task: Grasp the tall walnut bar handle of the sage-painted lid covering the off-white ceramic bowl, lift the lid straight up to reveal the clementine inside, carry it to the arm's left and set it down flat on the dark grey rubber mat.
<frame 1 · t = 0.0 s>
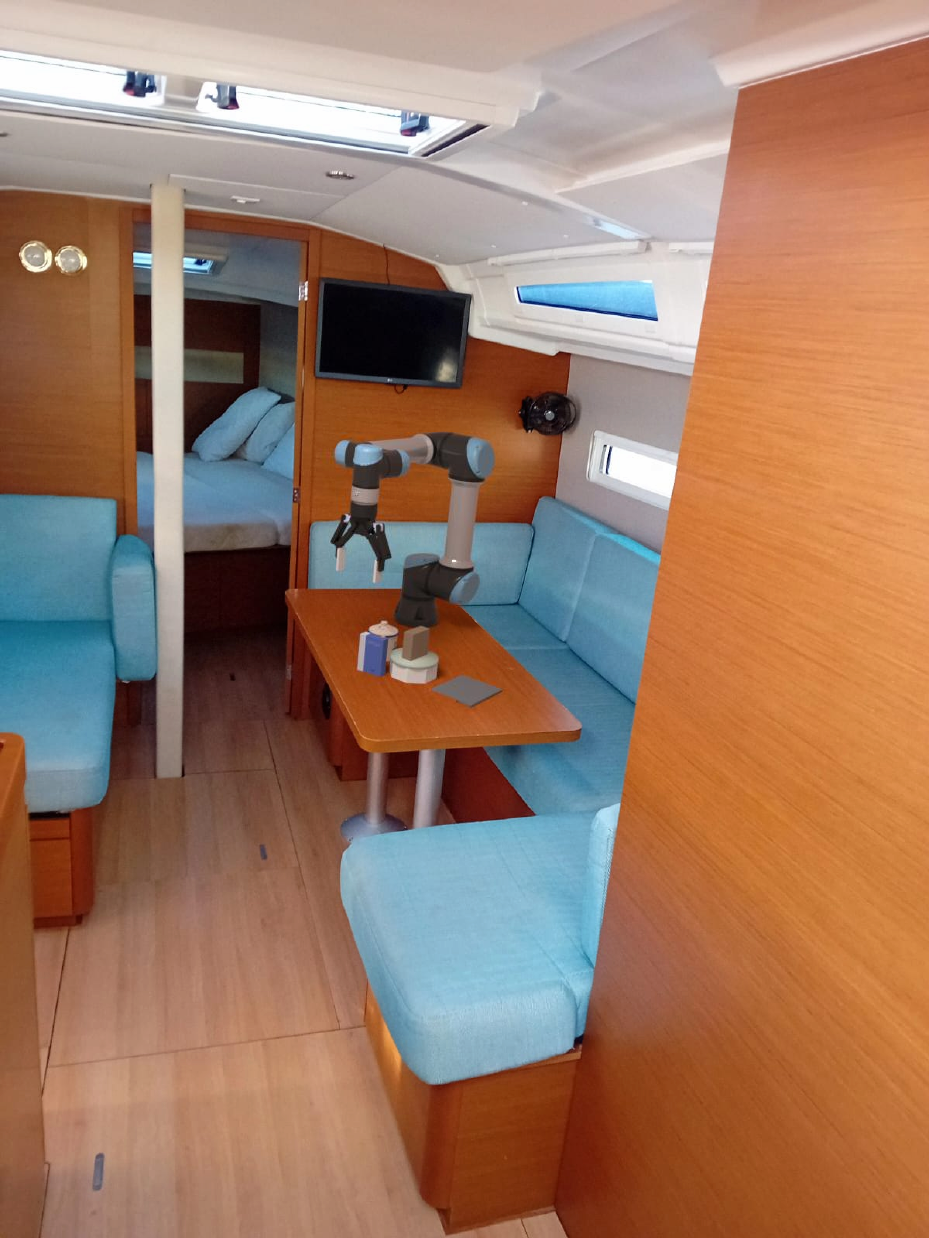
hand: (358, 576, 262), 28 cm above the table, fingers open, 13 cm apart
lid: (414, 660, 269), point 5 cm above the table, touching bowl
bowl: (412, 675, 271), on the table
clementine: (410, 673, 270), point 1 cm above the table, touching bowl
mat: (466, 691, 265), on the table
teacup with lid: (380, 656, 283), on the table
walkman: (370, 674, 269), on the table
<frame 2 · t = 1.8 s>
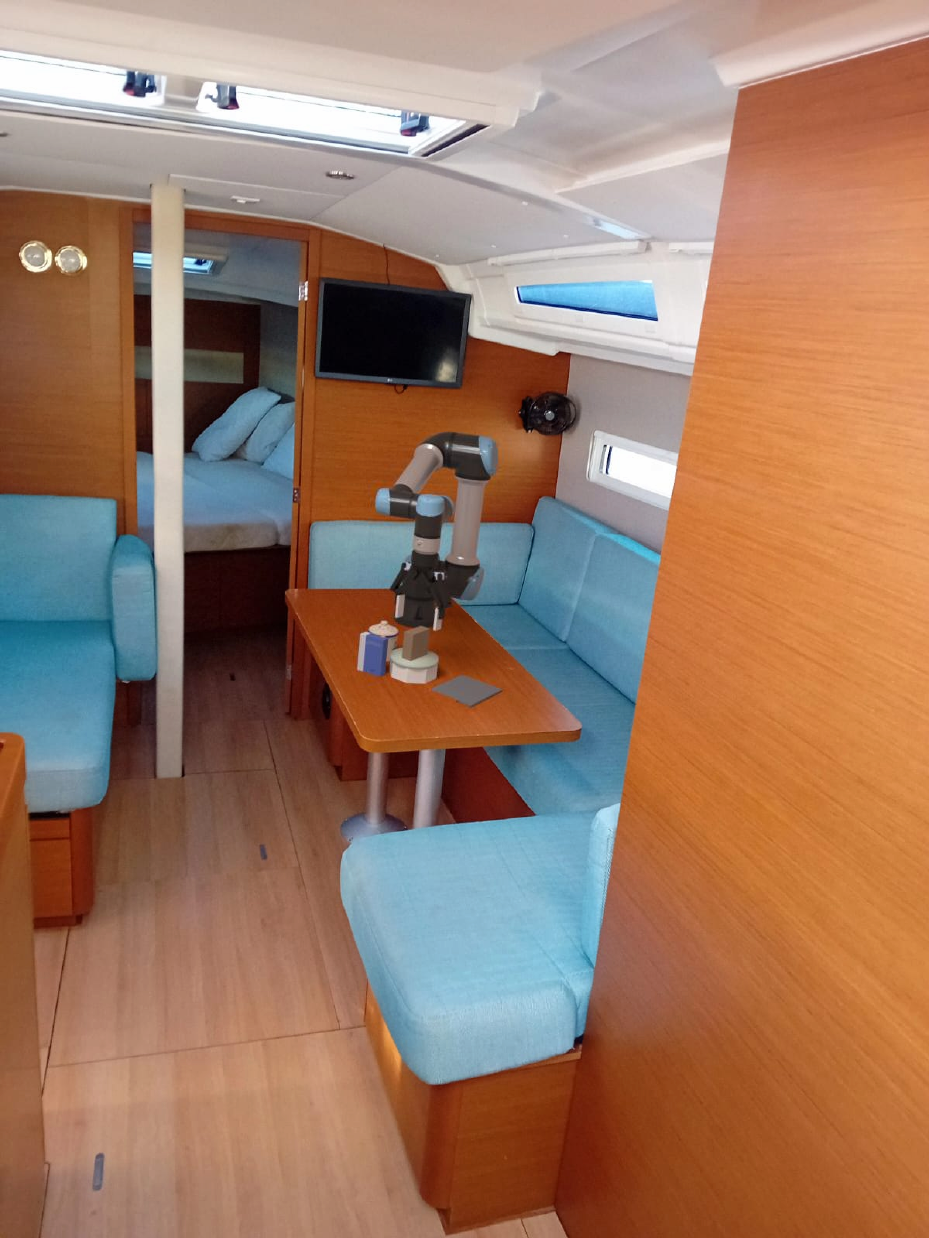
hand: (417, 623, 265), 16 cm above the table, fingers open, 13 cm apart
nothing on the table moved.
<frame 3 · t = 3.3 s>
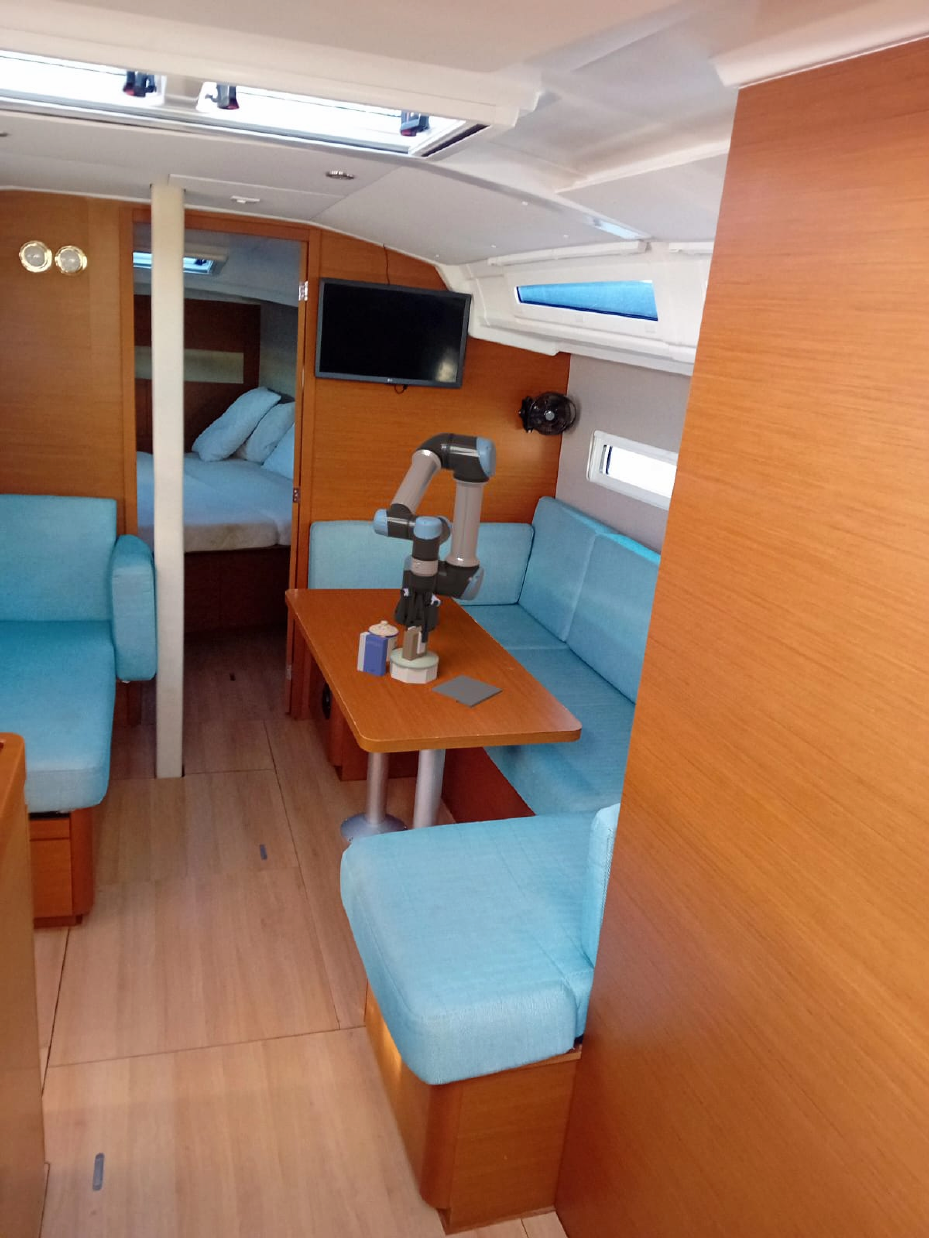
hand: (415, 650, 268), 8 cm above the table, fingers closed on lid, 3 cm apart
lid: (414, 660, 269), point 5 cm above the table, touching bowl, gripper
everything else where it was.
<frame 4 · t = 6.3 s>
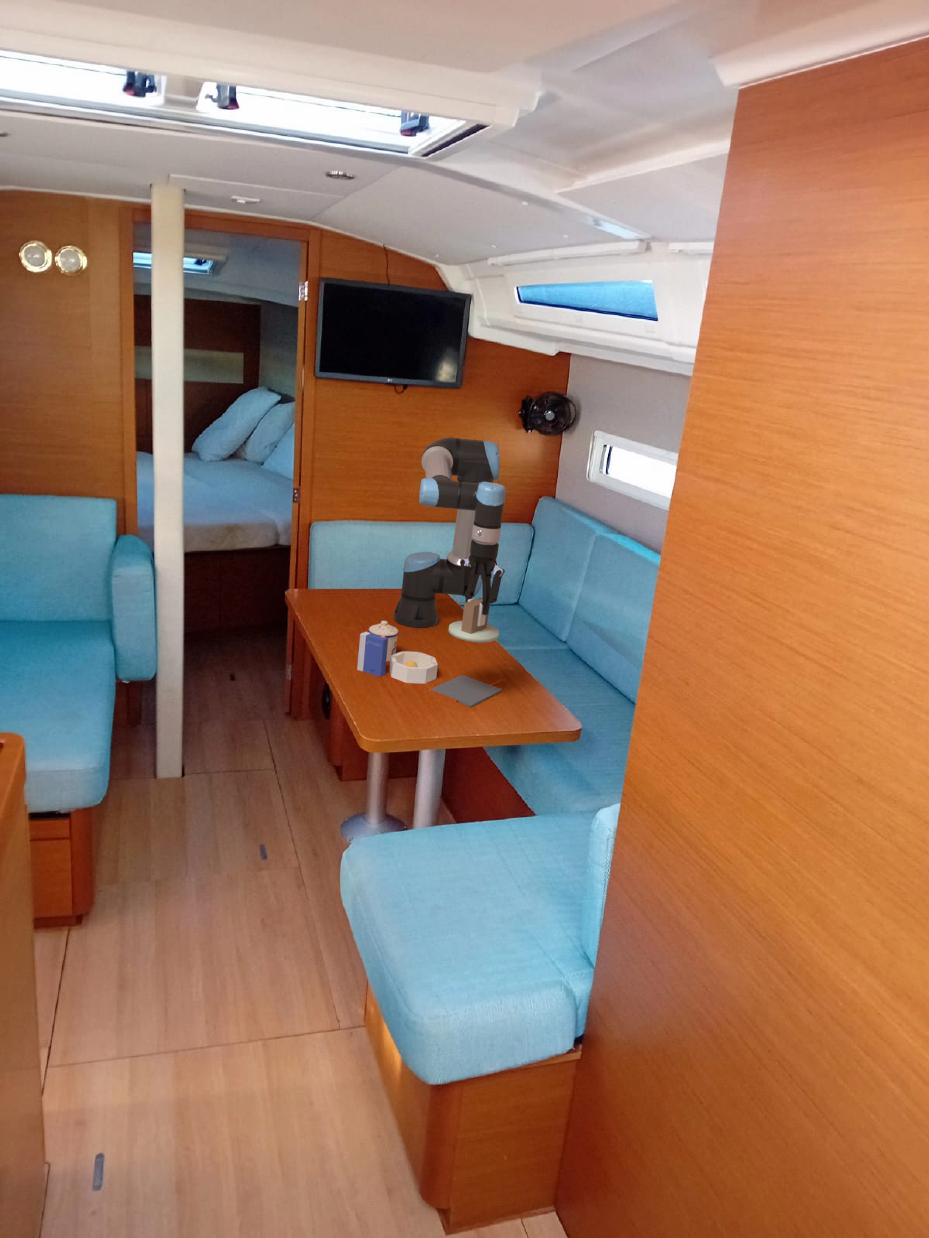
hand: (474, 622, 258), 21 cm above the table, fingers closed on lid, 3 cm apart
lid: (473, 633, 259), point 18 cm above the table, touching gripper
everything else where it was.
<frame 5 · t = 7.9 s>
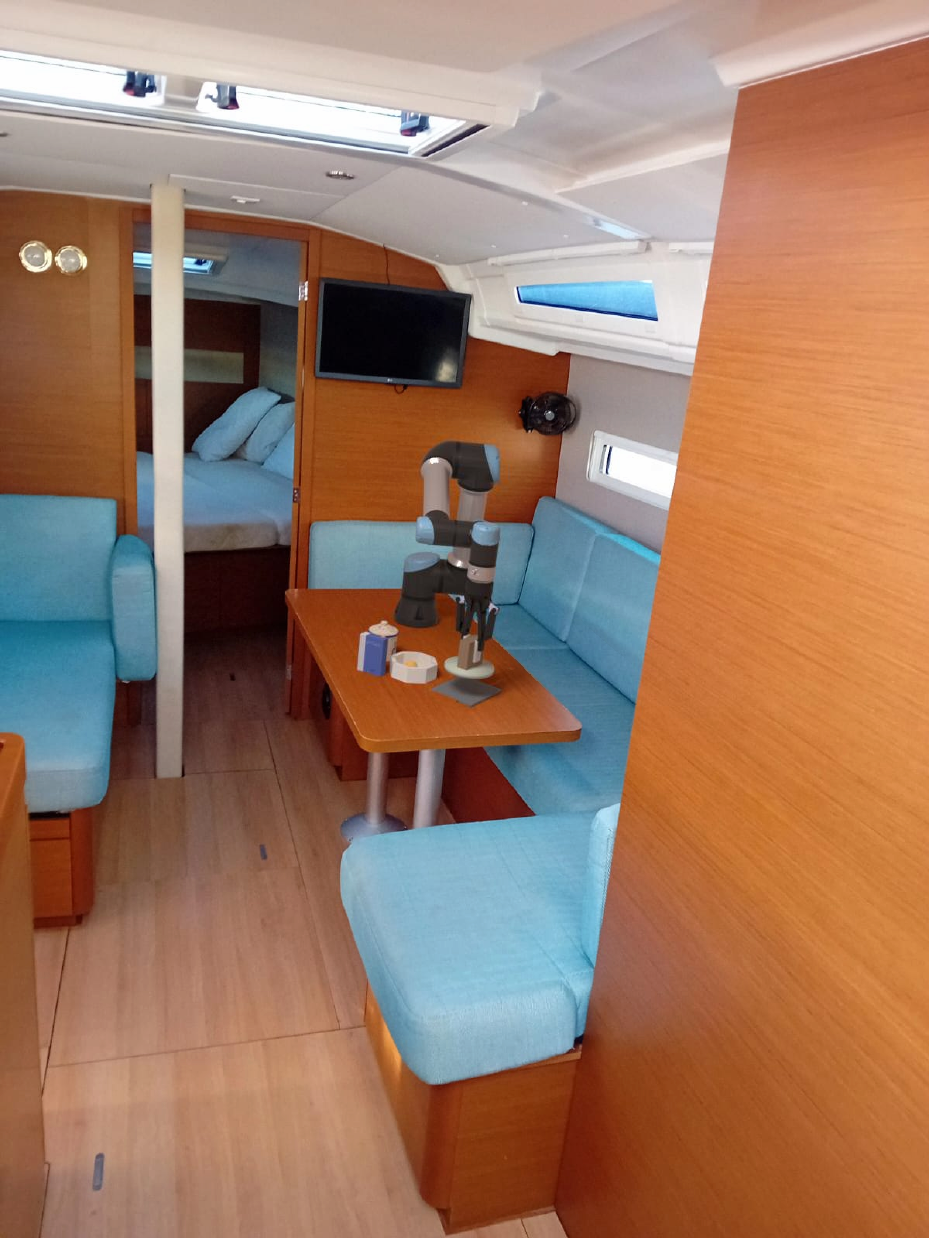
hand: (470, 659, 261), 10 cm above the table, fingers closed on lid, 3 cm apart
lid: (469, 669, 262), point 7 cm above the table, touching gripper
everything else where it was.
when the fingers open (5 cm above the table, at t = 9.2 s): lid drops 1 cm, resting on mat.
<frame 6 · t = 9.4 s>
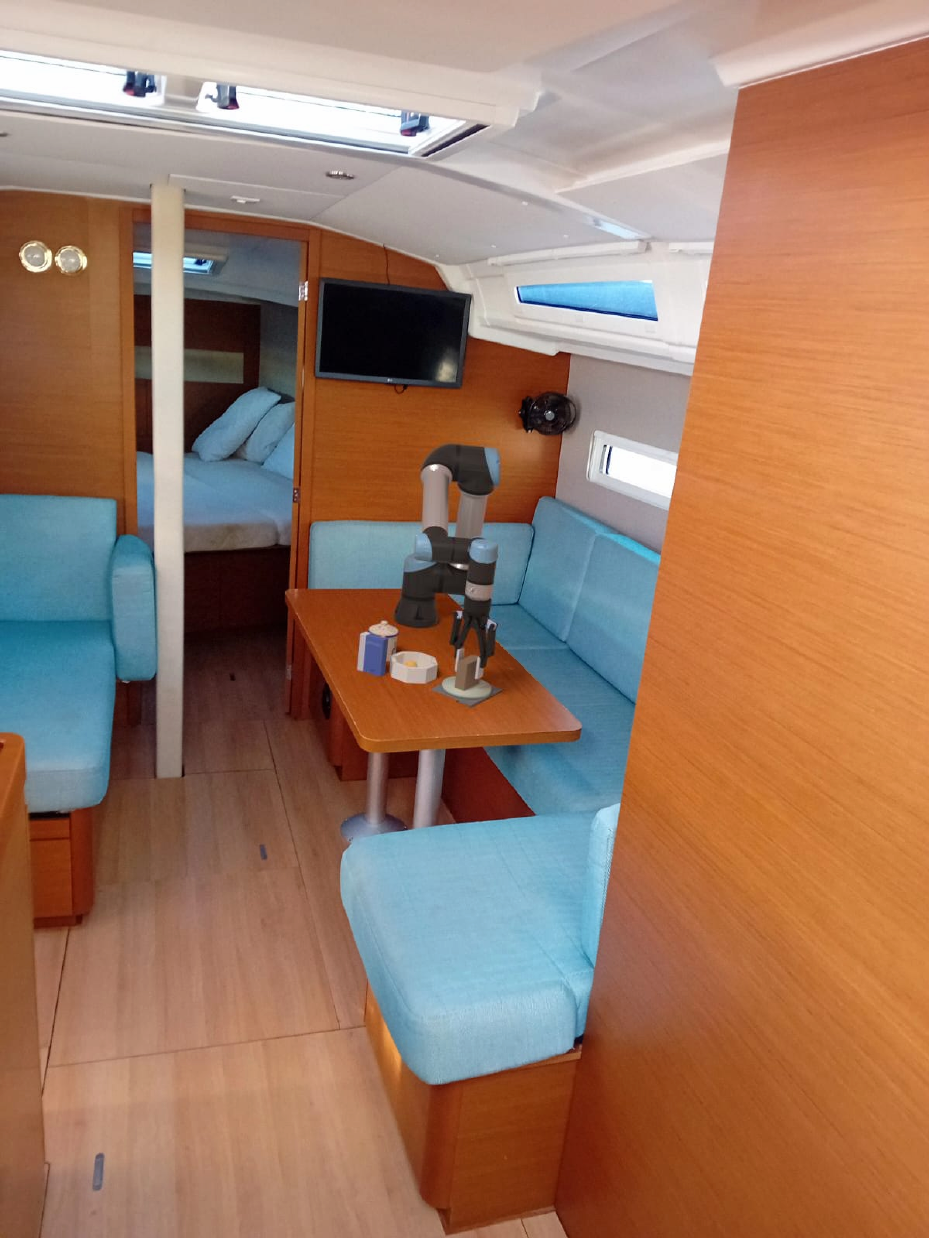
hand: (468, 673, 263), 5 cm above the table, fingers open, 6 cm apart
lid: (466, 689, 264), point 1 cm above the table, touching mat
everything else where it was.
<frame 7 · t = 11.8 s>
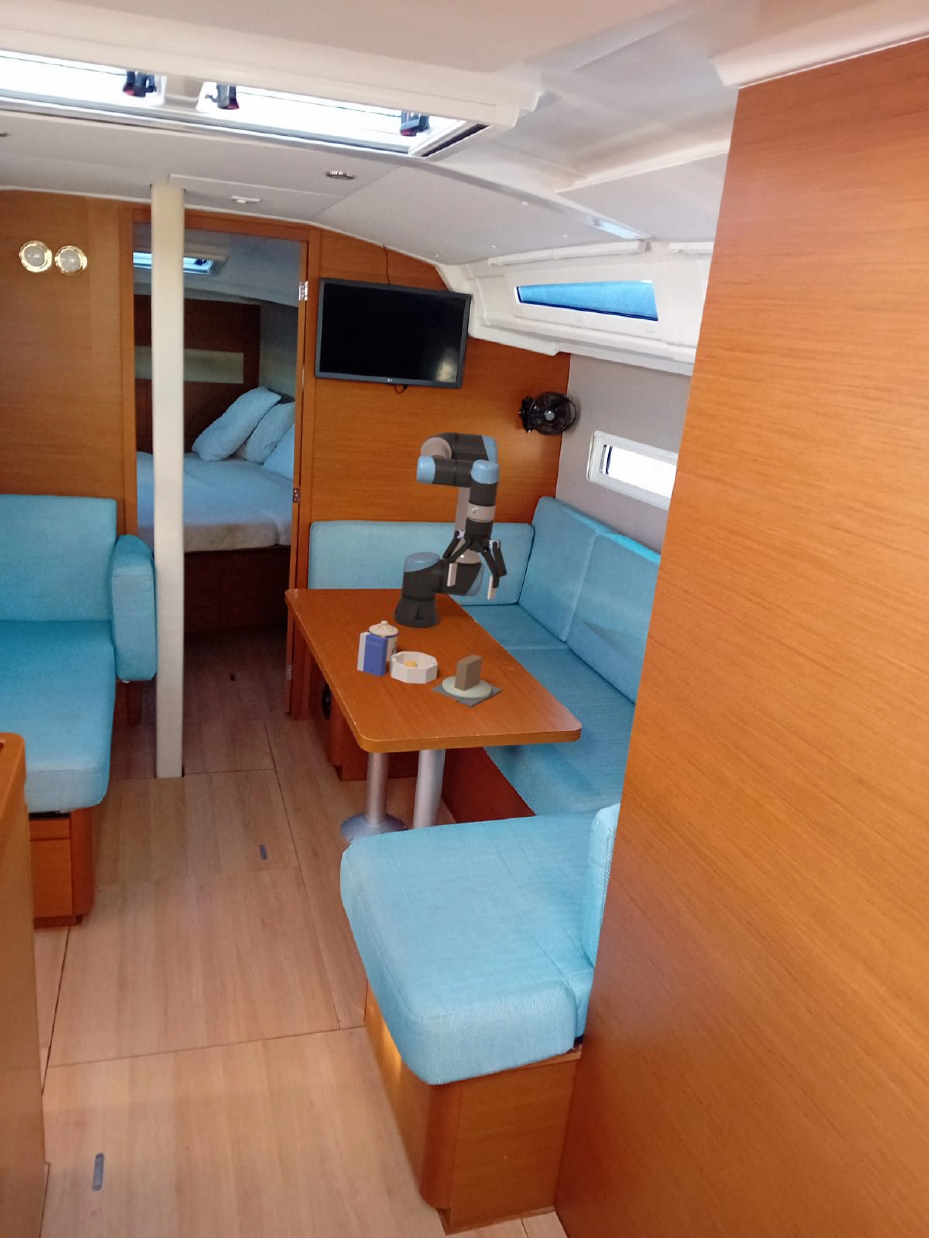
hand: (470, 591, 262), 28 cm above the table, fingers open, 13 cm apart
nothing on the table moved.
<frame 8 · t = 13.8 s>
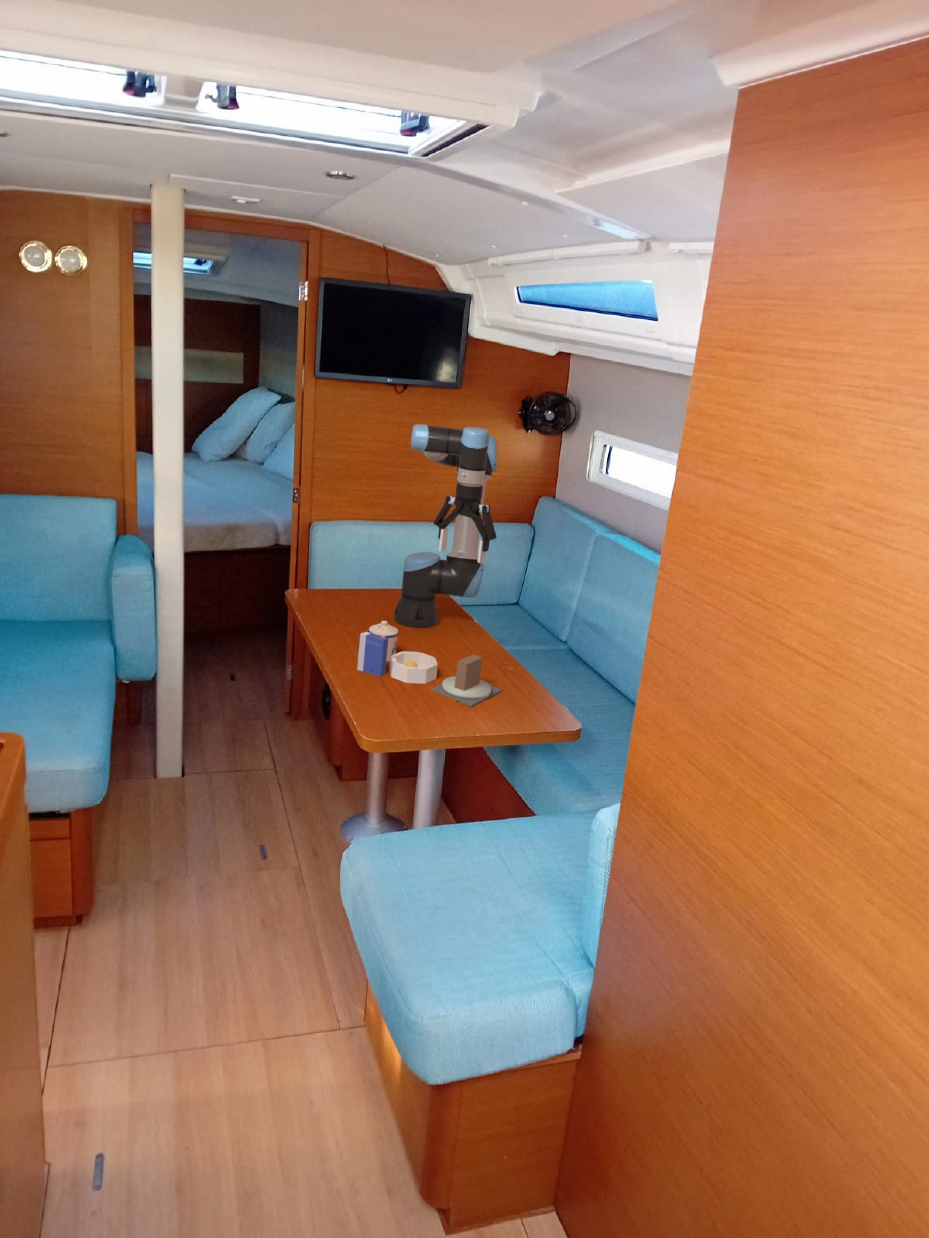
hand: (461, 556, 269), 35 cm above the table, fingers open, 13 cm apart
nothing on the table moved.
at the end: lid inside the target area on the mat (0.0 cm from its centre), point 0.6 cm above the mat's base; lid tilted 0°; lid touching mat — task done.
